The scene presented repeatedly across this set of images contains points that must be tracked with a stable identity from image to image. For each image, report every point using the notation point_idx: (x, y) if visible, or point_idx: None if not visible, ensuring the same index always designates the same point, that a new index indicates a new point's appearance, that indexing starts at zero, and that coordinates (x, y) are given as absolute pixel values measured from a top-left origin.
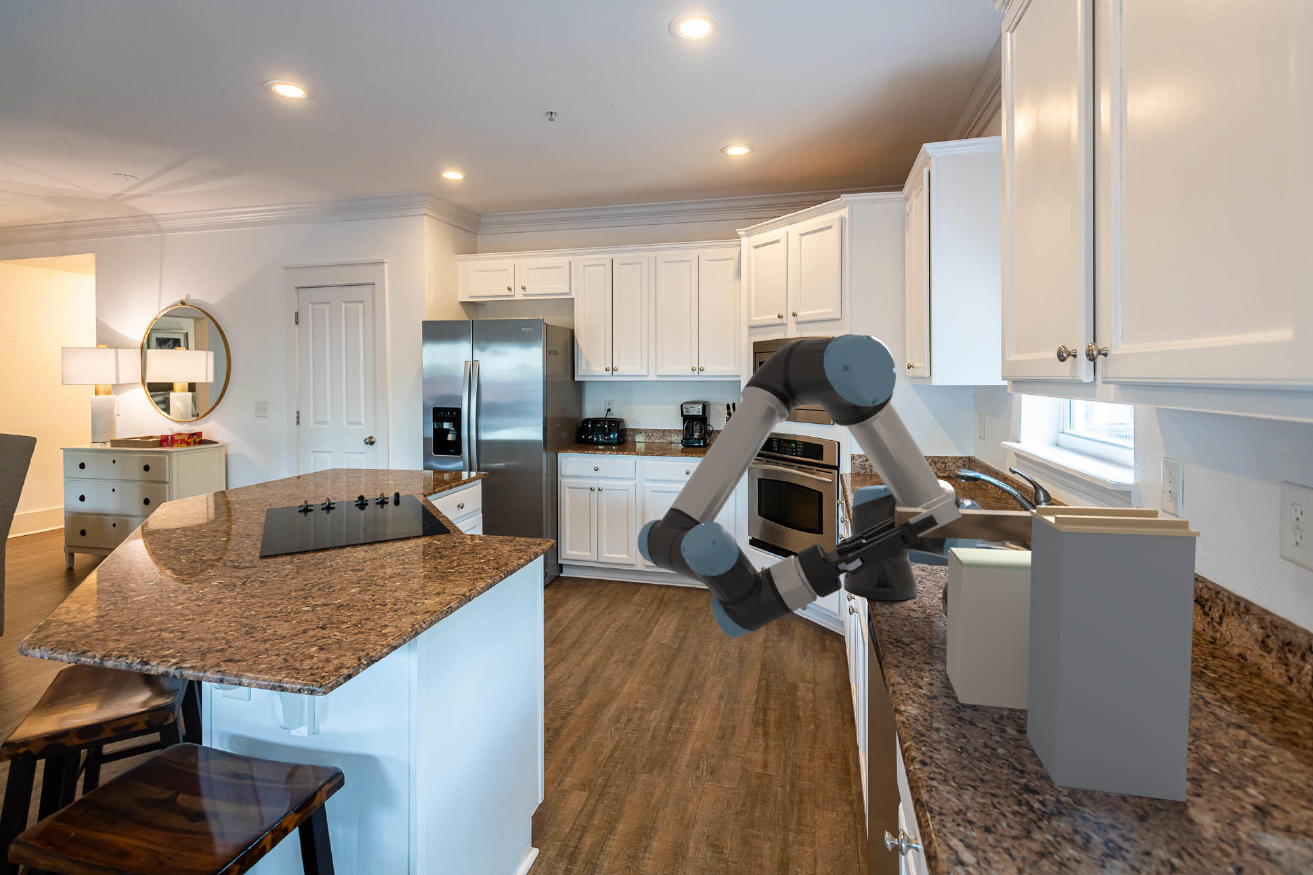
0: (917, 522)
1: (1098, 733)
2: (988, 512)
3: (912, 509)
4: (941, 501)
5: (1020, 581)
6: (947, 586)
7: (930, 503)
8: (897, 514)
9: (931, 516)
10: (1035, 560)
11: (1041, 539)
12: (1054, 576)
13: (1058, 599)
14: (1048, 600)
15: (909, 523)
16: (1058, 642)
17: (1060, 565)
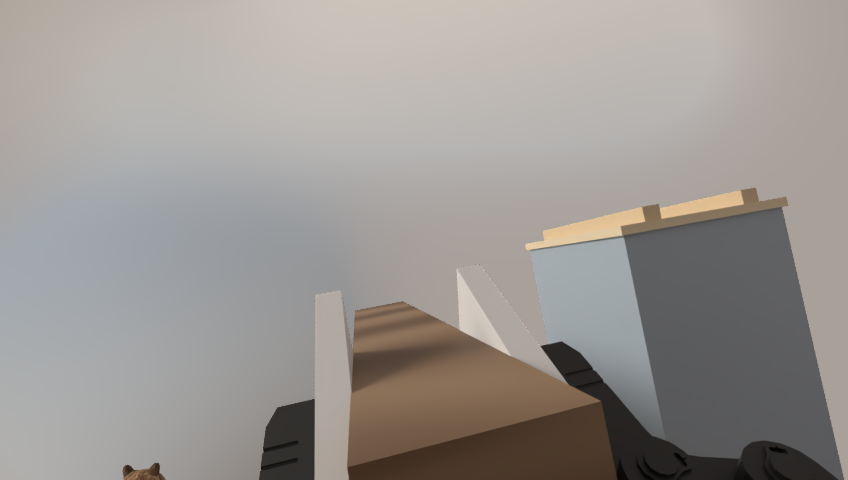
0: (606, 412)
1: None
2: (402, 326)
3: (440, 390)
4: (346, 327)
5: None
6: None
7: (347, 348)
8: (605, 436)
9: (567, 347)
10: (672, 329)
11: (691, 267)
12: (773, 309)
13: (803, 343)
14: (761, 374)
15: (646, 439)
16: (828, 425)
17: (793, 273)
